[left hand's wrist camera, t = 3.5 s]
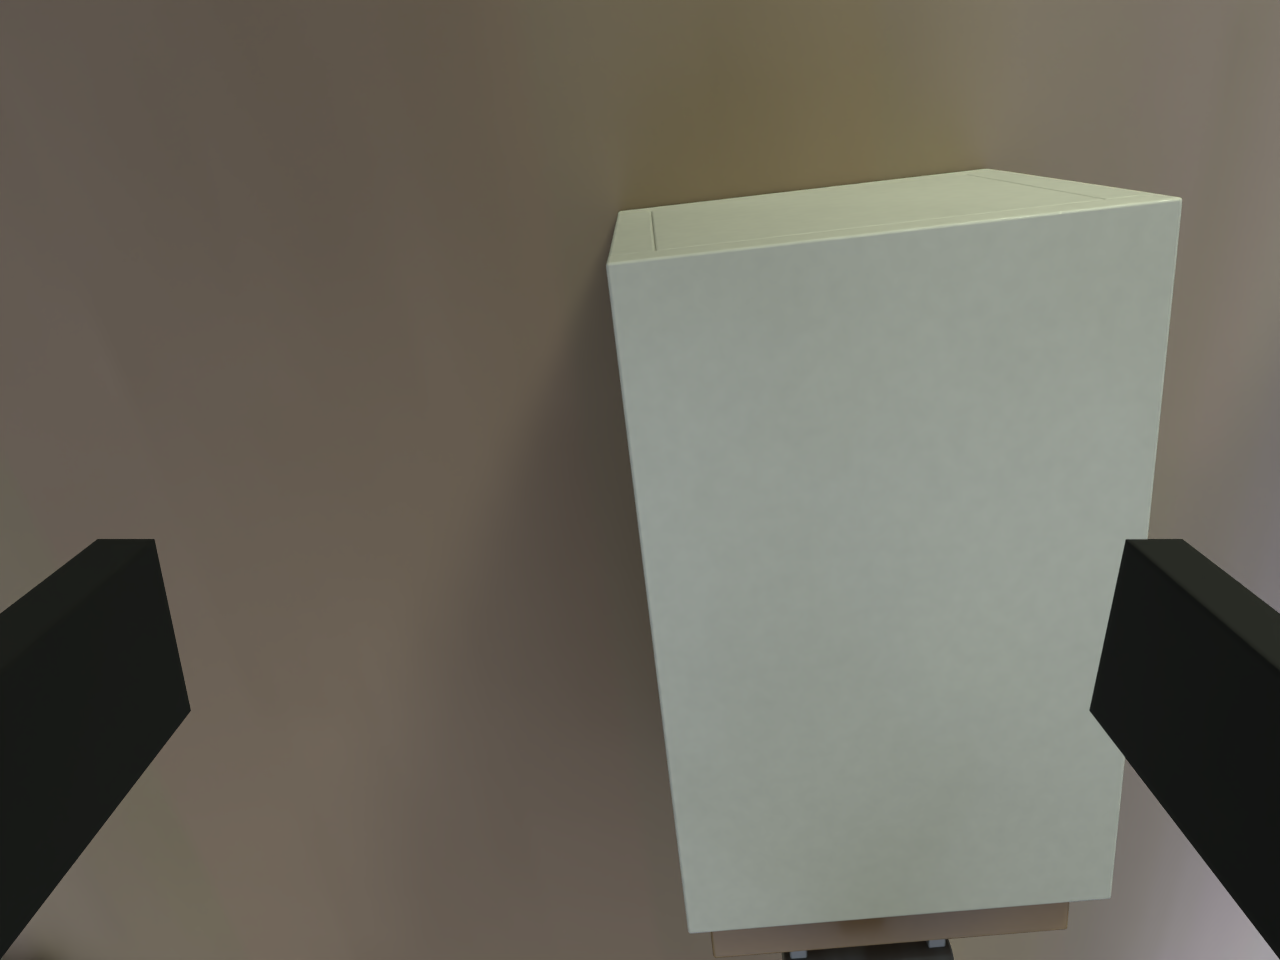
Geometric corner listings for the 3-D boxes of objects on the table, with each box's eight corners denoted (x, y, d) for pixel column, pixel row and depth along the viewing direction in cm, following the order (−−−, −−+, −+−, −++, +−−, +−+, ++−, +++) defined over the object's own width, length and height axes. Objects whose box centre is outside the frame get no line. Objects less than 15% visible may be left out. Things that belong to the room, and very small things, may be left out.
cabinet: (974, 672, 35) (1111, 899, 25) (674, 700, 36) (688, 934, 25) (988, 168, 28) (1184, 197, 18) (617, 211, 29) (605, 263, 19)
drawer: (963, 847, 37) (1057, 1059, 29) (708, 869, 38) (727, 1084, 29) (977, 290, 29) (1114, 361, 20) (649, 326, 29) (652, 410, 21)
